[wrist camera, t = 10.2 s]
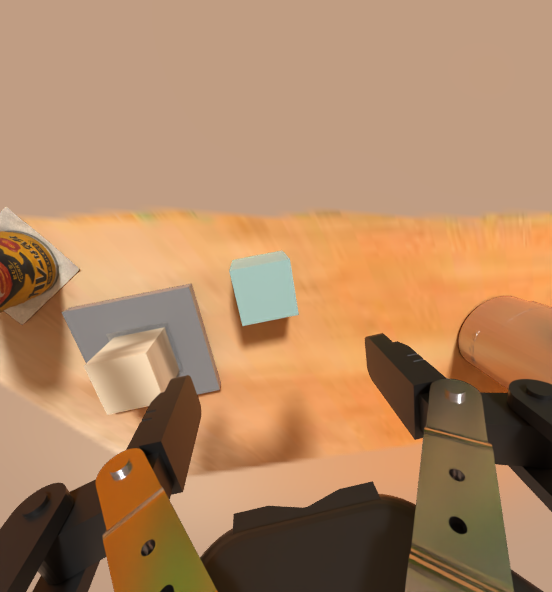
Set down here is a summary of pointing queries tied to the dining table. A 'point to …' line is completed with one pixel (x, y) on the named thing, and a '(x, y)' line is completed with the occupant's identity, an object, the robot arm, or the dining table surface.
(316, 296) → the dining table surface
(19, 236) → the condiment
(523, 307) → the robot arm
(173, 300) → the plate
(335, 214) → the dining table surface
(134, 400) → the block birch
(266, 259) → the block teal
